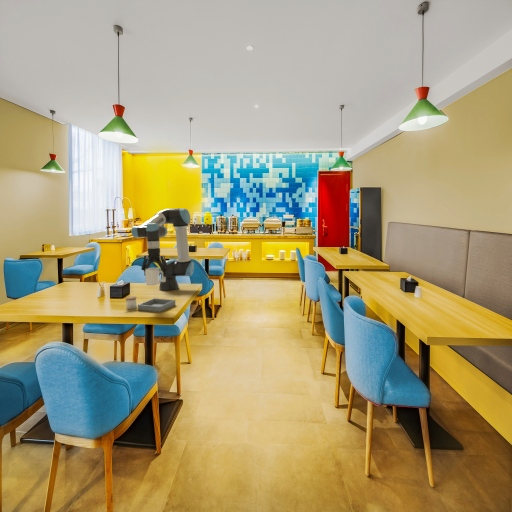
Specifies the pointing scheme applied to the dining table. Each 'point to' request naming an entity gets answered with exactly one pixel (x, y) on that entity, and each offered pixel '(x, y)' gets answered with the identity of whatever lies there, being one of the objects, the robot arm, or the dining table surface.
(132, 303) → the sugar pot
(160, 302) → the bus tub
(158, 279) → the cup
